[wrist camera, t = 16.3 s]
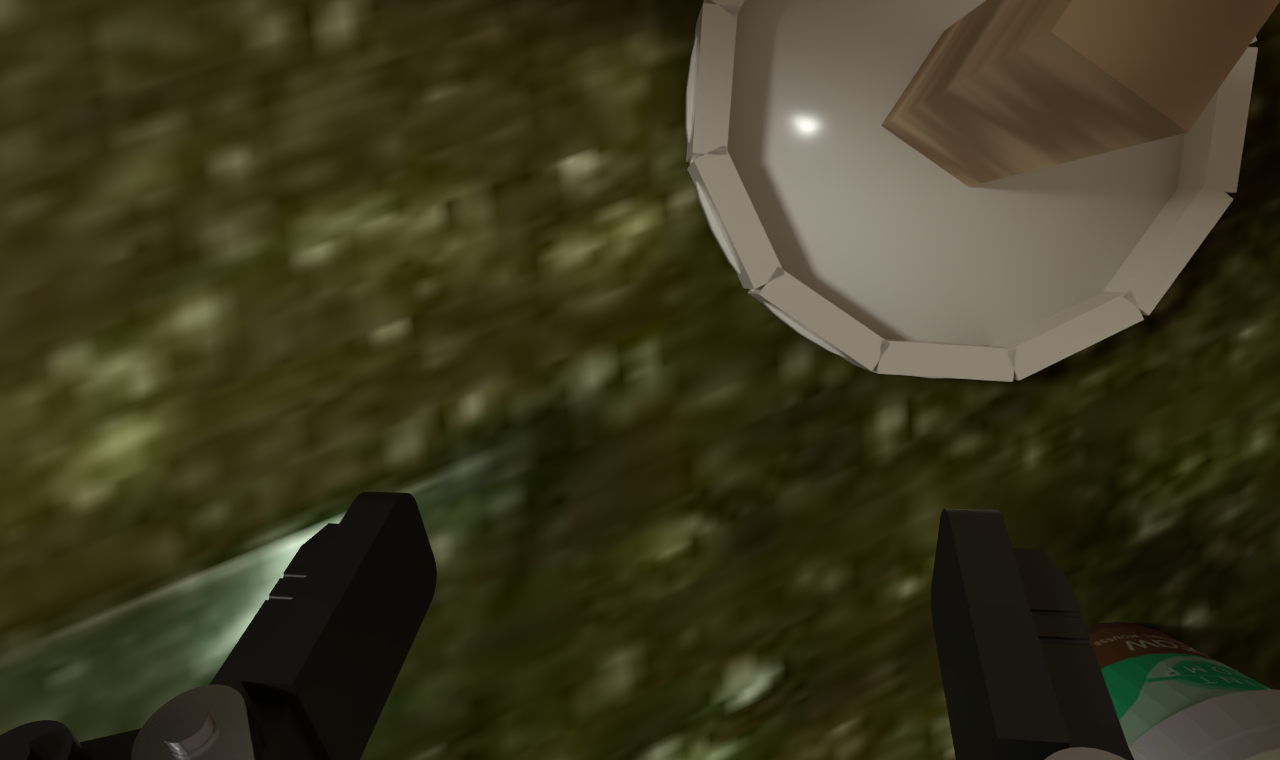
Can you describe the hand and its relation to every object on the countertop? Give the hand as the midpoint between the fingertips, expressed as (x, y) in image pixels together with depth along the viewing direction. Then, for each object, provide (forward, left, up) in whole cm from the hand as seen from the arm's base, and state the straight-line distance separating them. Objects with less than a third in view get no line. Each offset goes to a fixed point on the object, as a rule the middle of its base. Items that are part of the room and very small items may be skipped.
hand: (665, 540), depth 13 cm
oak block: (+4, +15, -19) cm, 25 cm away
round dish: (+4, +15, -20) cm, 25 cm away
